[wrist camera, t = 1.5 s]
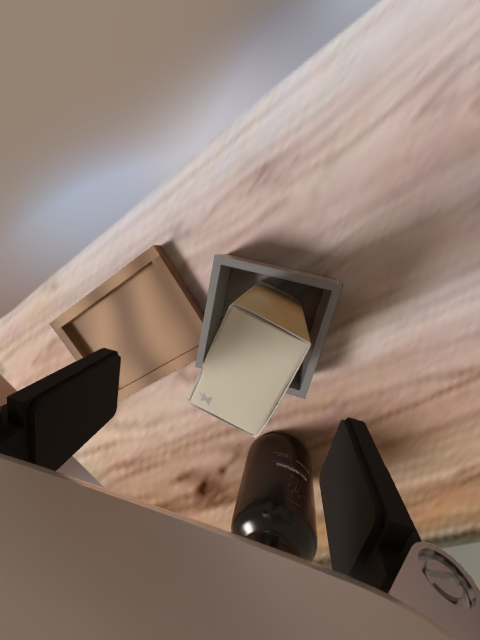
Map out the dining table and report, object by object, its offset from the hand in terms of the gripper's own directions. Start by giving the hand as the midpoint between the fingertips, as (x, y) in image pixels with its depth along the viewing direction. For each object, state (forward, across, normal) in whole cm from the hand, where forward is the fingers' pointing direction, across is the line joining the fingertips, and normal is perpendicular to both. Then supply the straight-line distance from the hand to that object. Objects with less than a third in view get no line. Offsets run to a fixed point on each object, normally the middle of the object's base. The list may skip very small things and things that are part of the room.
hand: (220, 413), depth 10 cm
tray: (+15, +12, +4) cm, 20 cm away
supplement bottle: (+15, -6, +14) cm, 21 cm away
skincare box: (+15, -1, -1) cm, 15 cm away
